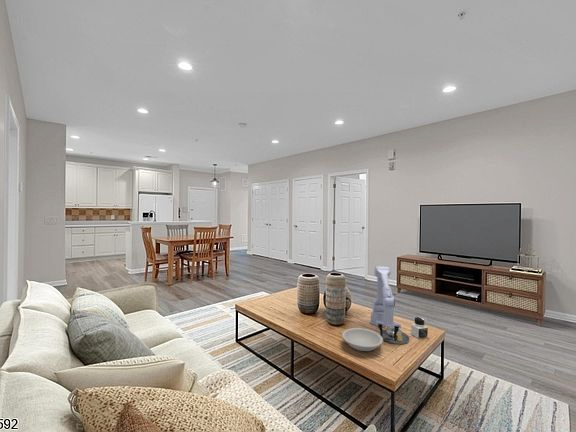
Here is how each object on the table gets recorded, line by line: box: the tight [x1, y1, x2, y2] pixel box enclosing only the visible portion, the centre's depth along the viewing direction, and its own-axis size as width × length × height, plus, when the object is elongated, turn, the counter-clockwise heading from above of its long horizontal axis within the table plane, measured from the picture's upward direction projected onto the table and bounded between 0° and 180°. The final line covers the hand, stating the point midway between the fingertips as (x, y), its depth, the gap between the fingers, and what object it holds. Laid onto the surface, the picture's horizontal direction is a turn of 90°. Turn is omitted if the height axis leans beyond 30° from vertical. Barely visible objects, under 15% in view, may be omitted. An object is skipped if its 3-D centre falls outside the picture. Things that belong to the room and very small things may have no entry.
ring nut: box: [386, 326, 403, 341], centre depth 180 cm, size 9×16×3 cm, turn 13°
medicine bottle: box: [410, 316, 429, 340], centre depth 183 cm, size 7×7×12 cm
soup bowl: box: [341, 327, 384, 352], centre depth 168 cm, size 24×24×7 cm
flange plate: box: [379, 328, 410, 346], centre depth 180 cm, size 18×18×2 cm
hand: (388, 337), depth 175 cm, fingers open, 7 cm apart
